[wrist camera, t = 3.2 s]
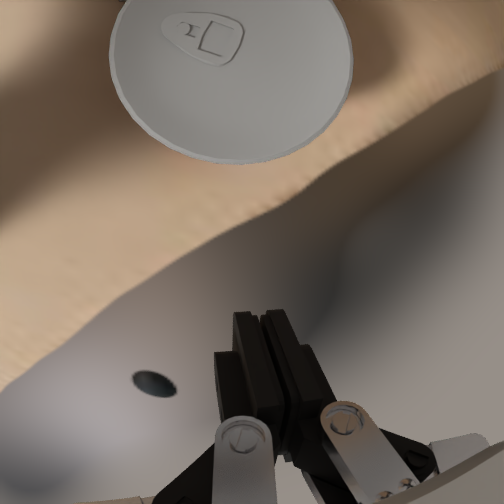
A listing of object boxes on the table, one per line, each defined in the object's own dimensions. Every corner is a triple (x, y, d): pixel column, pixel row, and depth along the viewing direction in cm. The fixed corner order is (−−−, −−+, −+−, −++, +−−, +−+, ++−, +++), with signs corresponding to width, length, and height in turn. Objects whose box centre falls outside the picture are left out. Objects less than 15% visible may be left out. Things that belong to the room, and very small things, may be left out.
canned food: (153, 23, 15) (128, -55, 6) (277, 34, 17) (363, -20, 7) (141, 136, 18) (97, 164, 9) (264, 142, 20) (341, 177, 10)
